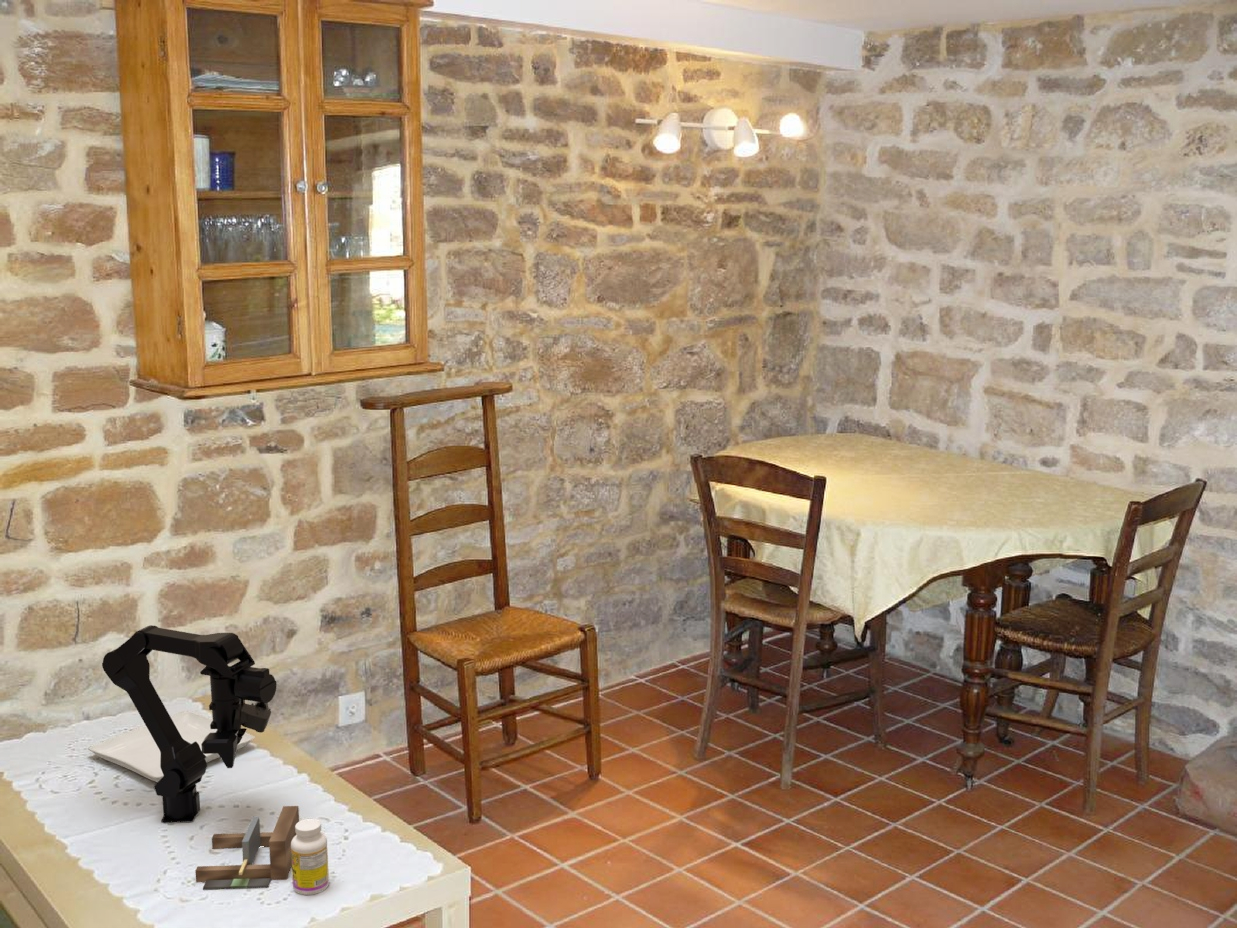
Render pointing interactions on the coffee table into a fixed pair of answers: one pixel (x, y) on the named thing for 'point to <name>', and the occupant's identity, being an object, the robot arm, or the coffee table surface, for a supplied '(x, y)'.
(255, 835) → the pad
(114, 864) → the coffee table surface
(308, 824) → the supplement bottle
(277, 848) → the brown wooden frame
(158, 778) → the square plate
